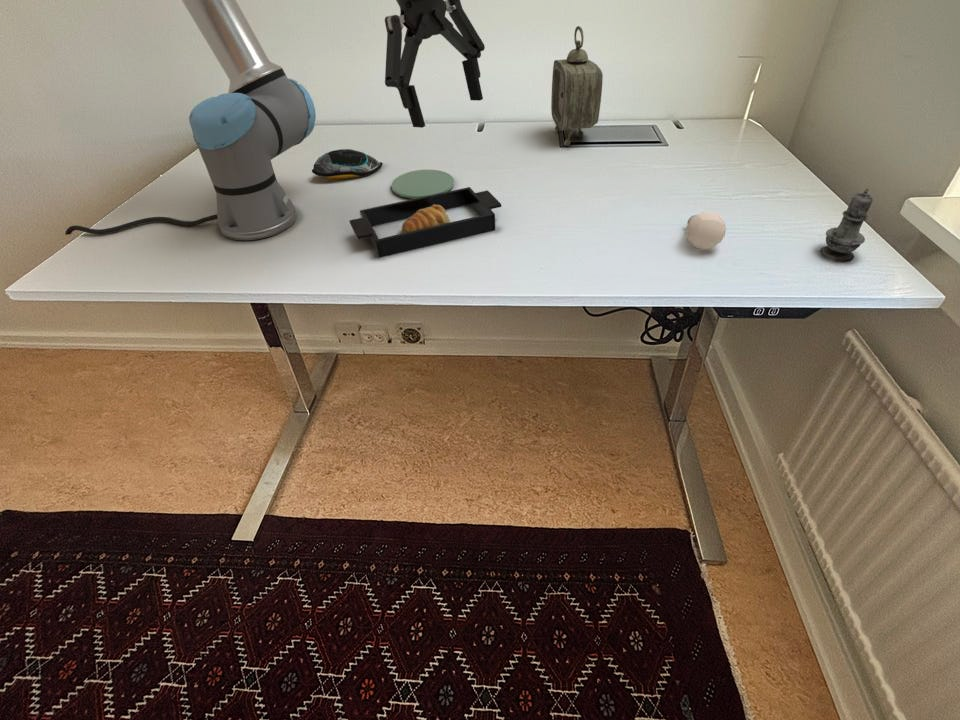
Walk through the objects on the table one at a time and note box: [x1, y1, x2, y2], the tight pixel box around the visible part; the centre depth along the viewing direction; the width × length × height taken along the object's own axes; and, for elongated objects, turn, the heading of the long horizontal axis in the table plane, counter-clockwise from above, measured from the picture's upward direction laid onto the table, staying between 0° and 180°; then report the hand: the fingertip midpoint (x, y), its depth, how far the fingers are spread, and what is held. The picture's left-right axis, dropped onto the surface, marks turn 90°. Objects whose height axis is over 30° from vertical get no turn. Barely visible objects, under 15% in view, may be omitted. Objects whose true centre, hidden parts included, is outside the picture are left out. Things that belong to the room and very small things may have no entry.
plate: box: [391, 169, 455, 199], centre depth 121 cm, size 14×14×1 cm
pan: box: [349, 186, 502, 259], centre depth 105 cm, size 29×13×4 cm, turn 112°
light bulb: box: [685, 211, 727, 250], centre depth 97 cm, size 7×7×11 cm
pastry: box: [401, 204, 451, 233], centre depth 105 cm, size 9×7×4 cm
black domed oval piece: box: [311, 148, 384, 180], centre depth 126 cm, size 9×17×6 cm, turn 116°
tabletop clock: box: [550, 25, 604, 147], centre depth 131 cm, size 14×9×25 cm, turn 6°
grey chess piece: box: [819, 188, 874, 263], centre depth 90 cm, size 6×6×12 cm
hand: (449, 113), depth 95 cm, fingers open, 13 cm apart
